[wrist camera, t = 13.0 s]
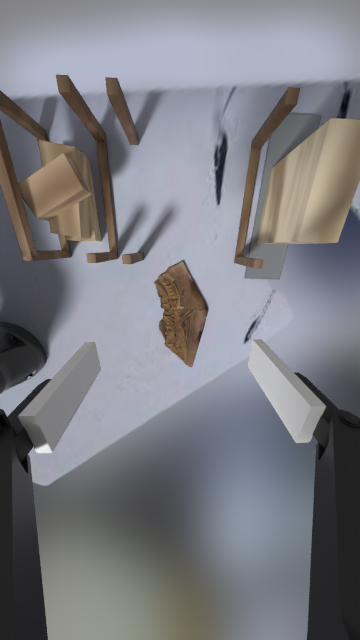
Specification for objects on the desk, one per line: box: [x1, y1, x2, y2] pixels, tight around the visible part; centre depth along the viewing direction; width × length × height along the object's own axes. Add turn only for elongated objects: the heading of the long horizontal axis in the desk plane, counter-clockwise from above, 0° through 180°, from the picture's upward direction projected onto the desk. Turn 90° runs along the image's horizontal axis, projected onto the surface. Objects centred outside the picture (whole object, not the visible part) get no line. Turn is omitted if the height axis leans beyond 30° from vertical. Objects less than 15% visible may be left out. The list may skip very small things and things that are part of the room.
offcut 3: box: [66, 151, 101, 241], centre depth 29 cm, size 5×12×3 cm, turn 179°
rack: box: [0, 75, 300, 268], centre depth 26 cm, size 34×18×10 cm, turn 88°
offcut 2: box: [39, 140, 90, 238], centre depth 26 cm, size 5×11×3 cm, turn 172°
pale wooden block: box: [257, 118, 360, 244], centre depth 25 cm, size 5×11×12 cm, turn 178°
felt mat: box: [245, 114, 321, 279], centre depth 30 cm, size 7×24×1 cm, turn 178°
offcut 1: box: [18, 153, 92, 221], centre depth 24 cm, size 4×8×2 cm, turn 115°
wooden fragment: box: [154, 260, 208, 367], centre depth 39 cm, size 26×11×1 cm, turn 3°
